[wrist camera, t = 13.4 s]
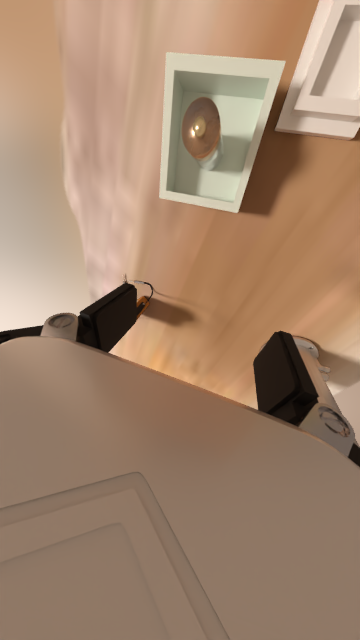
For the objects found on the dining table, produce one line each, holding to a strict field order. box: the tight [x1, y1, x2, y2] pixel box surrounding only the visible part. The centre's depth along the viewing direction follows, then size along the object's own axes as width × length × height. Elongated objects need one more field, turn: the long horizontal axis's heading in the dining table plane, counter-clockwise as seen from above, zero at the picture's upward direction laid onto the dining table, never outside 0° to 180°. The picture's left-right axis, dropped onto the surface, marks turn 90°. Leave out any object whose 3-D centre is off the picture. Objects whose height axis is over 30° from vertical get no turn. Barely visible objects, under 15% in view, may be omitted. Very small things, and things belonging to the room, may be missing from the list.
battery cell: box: [182, 97, 224, 171], centre depth 18 cm, size 4×4×10 cm
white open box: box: [159, 52, 286, 213], centre depth 21 cm, size 12×12×5 cm
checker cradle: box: [274, 0, 360, 140], centre depth 16 cm, size 9×9×2 cm
